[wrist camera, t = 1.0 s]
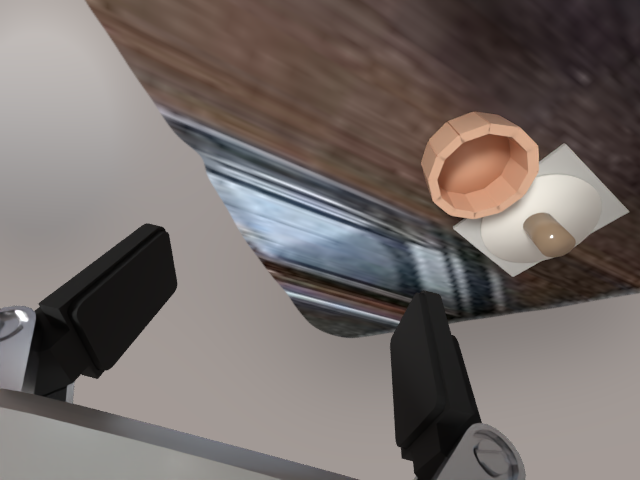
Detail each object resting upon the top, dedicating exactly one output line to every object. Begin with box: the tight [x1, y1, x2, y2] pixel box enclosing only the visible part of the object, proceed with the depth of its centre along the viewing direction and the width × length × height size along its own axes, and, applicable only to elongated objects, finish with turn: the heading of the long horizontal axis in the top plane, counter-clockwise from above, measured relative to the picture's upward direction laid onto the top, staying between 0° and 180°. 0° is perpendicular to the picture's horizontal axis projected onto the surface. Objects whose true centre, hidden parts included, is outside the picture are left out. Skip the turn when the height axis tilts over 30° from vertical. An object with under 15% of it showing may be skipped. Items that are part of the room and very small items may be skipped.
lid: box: [480, 174, 602, 263], centre depth 37 cm, size 14×14×6 cm
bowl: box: [421, 112, 539, 219], centre depth 34 cm, size 11×11×6 cm
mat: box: [453, 144, 629, 277], centre depth 39 cm, size 16×14×1 cm
